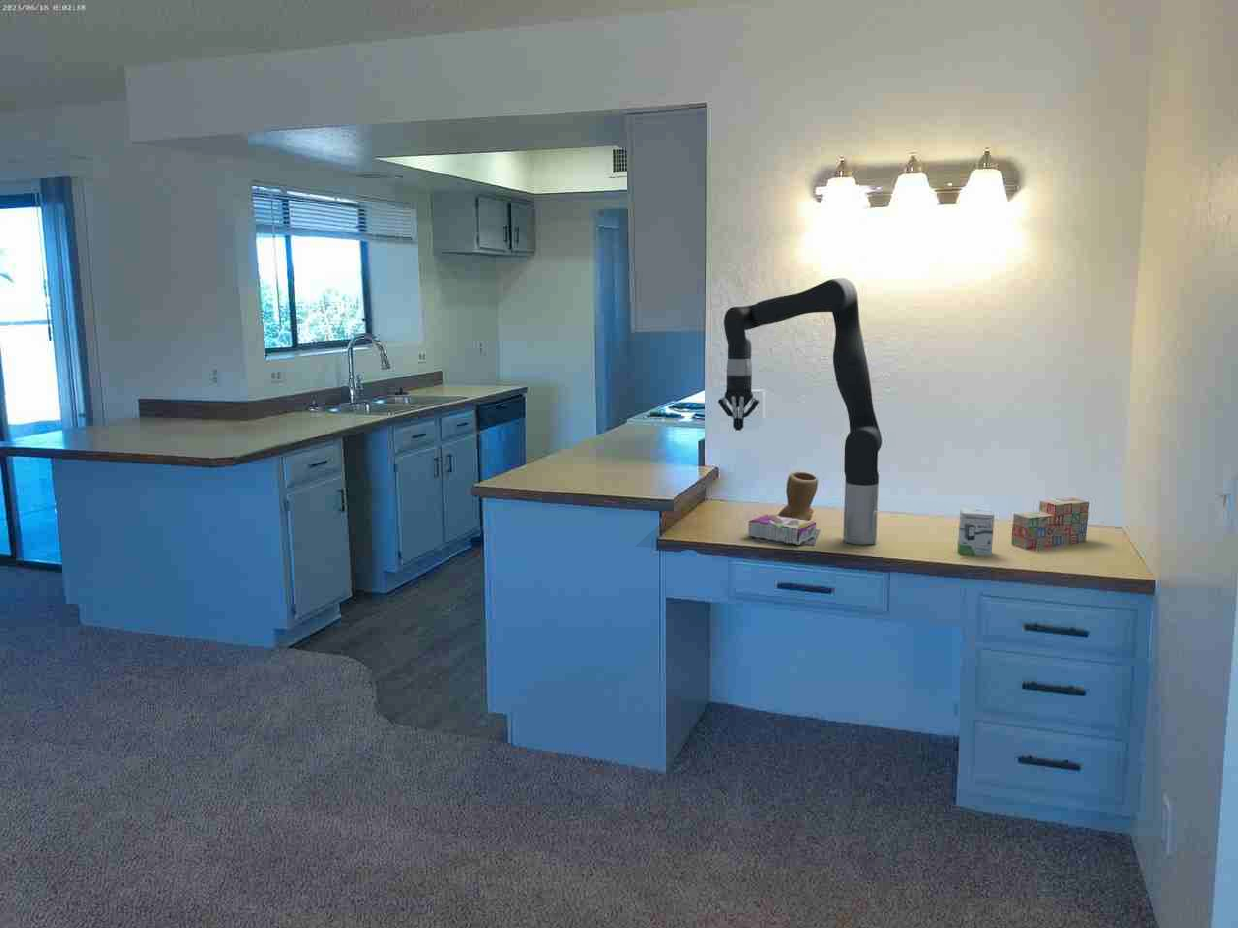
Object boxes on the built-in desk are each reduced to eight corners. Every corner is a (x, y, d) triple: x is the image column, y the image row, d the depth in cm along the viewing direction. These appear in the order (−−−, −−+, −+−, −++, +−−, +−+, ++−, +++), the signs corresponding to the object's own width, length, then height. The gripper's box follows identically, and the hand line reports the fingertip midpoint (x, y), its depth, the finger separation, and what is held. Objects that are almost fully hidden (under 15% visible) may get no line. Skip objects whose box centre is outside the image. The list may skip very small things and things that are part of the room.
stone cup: (812, 526, 297) (814, 478, 294) (774, 522, 302) (775, 475, 299) (822, 515, 311) (824, 469, 308) (786, 512, 315) (787, 466, 312)
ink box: (958, 554, 266) (961, 512, 263) (957, 549, 270) (959, 508, 268) (992, 556, 263) (994, 514, 261) (990, 551, 268) (993, 510, 266)
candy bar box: (767, 513, 291) (817, 521, 281) (766, 529, 292) (816, 538, 282) (748, 520, 282) (798, 529, 272) (747, 536, 283) (798, 546, 273)
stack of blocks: (1026, 550, 270) (1030, 507, 267) (1010, 544, 275) (1013, 502, 273) (1086, 543, 277) (1089, 501, 275) (1069, 537, 283) (1072, 496, 280)
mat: (820, 530, 292) (820, 529, 292) (813, 545, 275) (814, 544, 275) (763, 526, 297) (763, 525, 296) (754, 541, 280) (754, 540, 280)
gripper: (763, 373, 295) (761, 429, 298) (720, 372, 299) (719, 427, 302) (759, 375, 288) (757, 433, 291) (715, 374, 292) (714, 431, 295)
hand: (738, 430), depth 297 cm, fingers closed
